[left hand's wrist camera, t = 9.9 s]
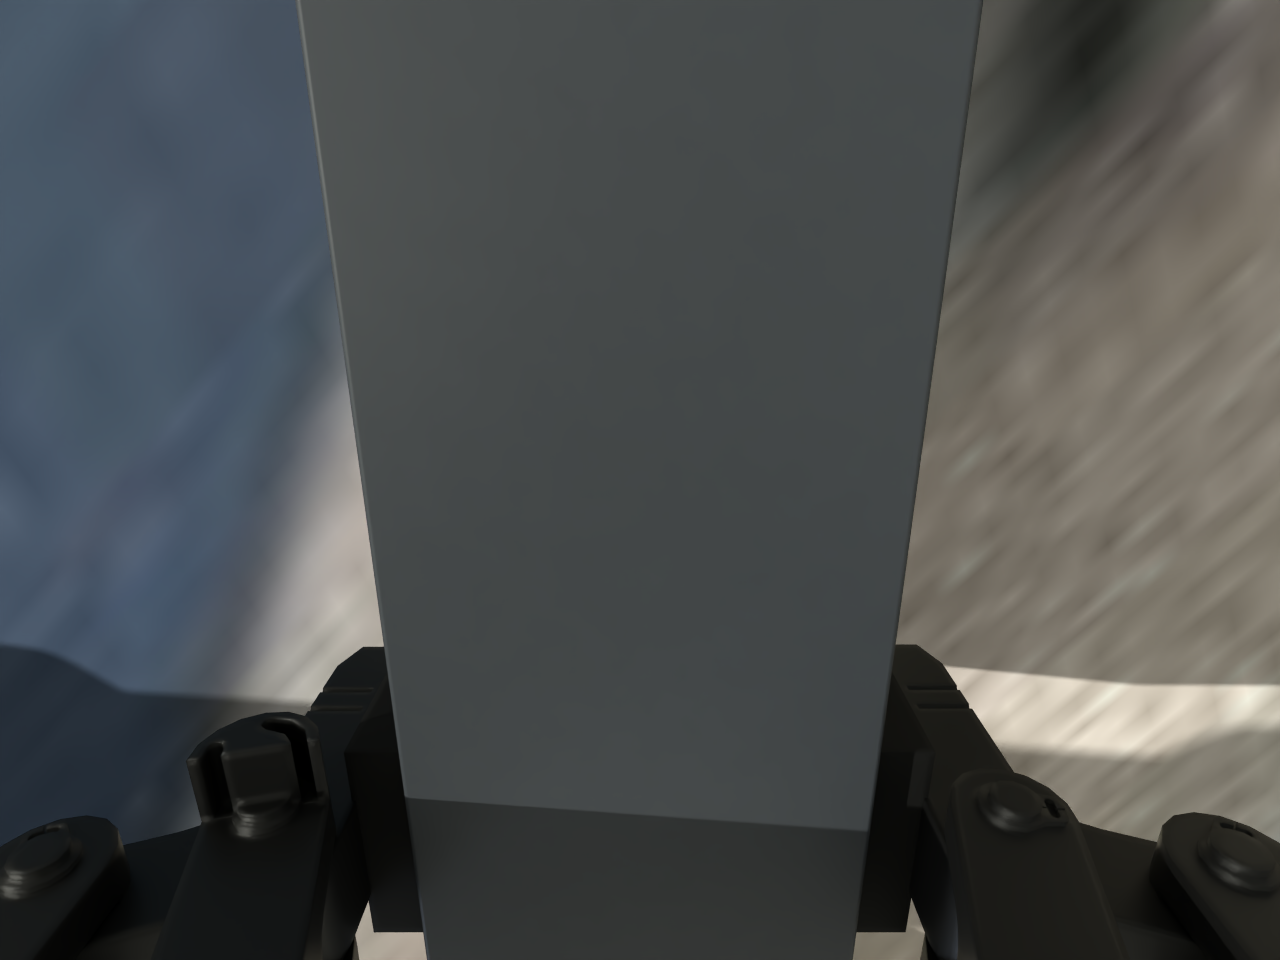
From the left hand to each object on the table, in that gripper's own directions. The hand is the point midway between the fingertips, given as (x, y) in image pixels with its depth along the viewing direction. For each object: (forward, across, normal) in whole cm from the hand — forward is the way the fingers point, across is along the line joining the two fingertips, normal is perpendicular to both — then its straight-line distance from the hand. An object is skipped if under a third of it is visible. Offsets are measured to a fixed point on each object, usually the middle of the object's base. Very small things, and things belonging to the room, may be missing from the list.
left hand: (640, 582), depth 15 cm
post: (+1, 0, -35) cm, 35 cm away
